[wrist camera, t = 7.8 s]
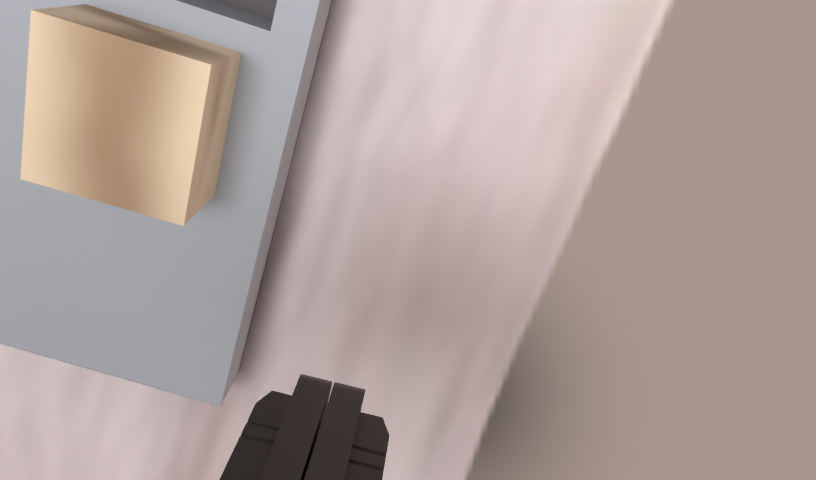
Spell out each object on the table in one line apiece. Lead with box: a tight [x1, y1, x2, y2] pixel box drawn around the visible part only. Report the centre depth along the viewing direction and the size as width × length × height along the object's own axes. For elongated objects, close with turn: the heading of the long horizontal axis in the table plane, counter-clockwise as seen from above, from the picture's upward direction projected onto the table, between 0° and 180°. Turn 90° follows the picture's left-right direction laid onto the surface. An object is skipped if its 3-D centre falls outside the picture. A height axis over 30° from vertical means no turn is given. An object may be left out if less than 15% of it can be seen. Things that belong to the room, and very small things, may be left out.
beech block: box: [20, 4, 242, 226], centre depth 24 cm, size 6×6×4 cm
